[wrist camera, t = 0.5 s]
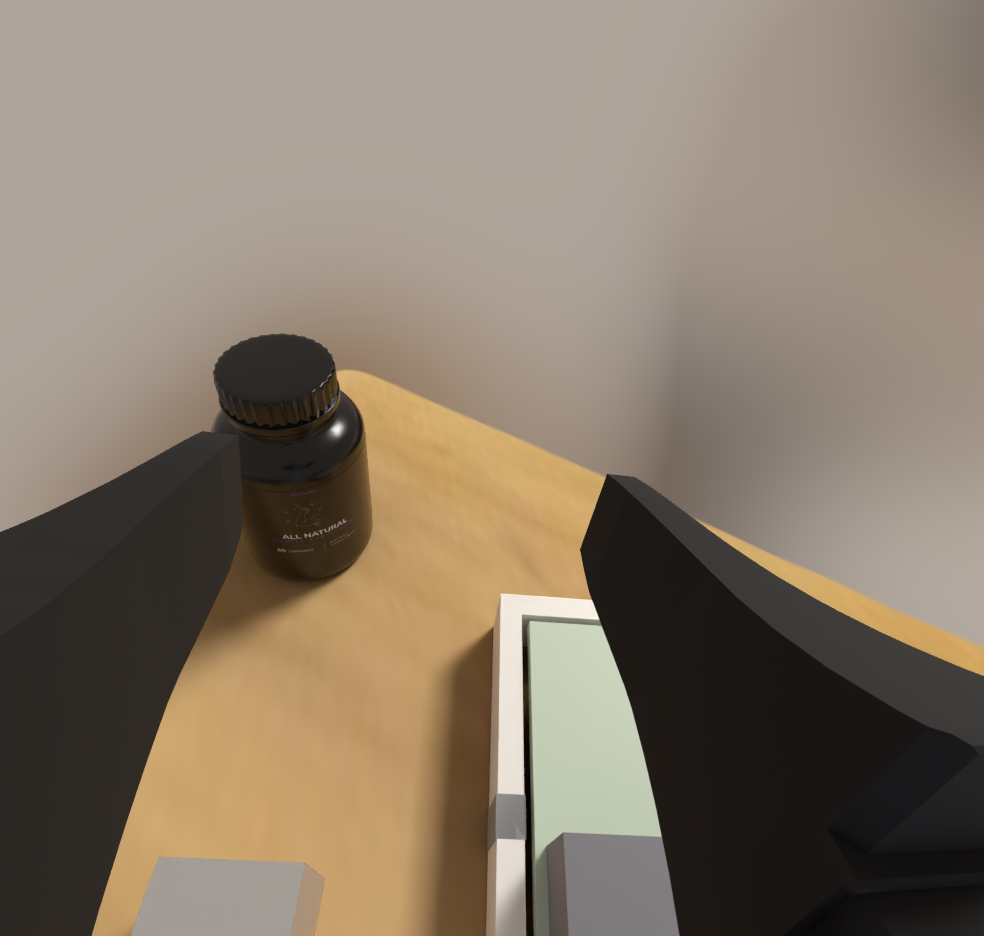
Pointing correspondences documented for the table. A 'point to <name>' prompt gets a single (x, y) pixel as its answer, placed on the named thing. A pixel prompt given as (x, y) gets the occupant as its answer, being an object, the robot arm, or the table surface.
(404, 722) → the table surface
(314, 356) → the supplement bottle
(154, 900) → the grey block
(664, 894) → the trapdoor
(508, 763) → the trapdoor frame
